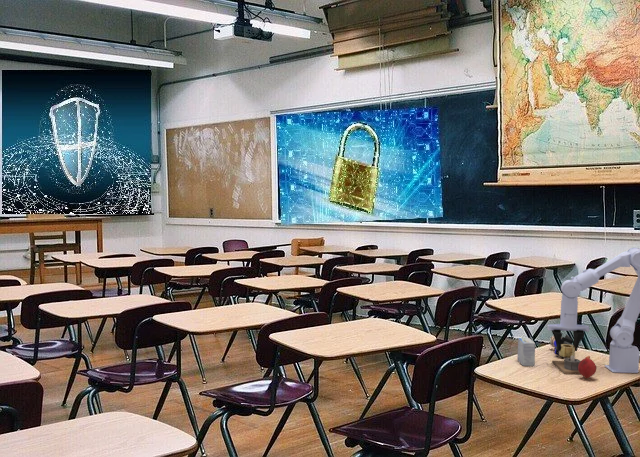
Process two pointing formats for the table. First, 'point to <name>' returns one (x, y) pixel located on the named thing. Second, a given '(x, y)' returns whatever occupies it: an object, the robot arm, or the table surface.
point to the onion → (587, 367)
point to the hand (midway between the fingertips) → (566, 350)
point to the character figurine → (563, 341)
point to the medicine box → (526, 352)
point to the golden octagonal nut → (567, 350)
